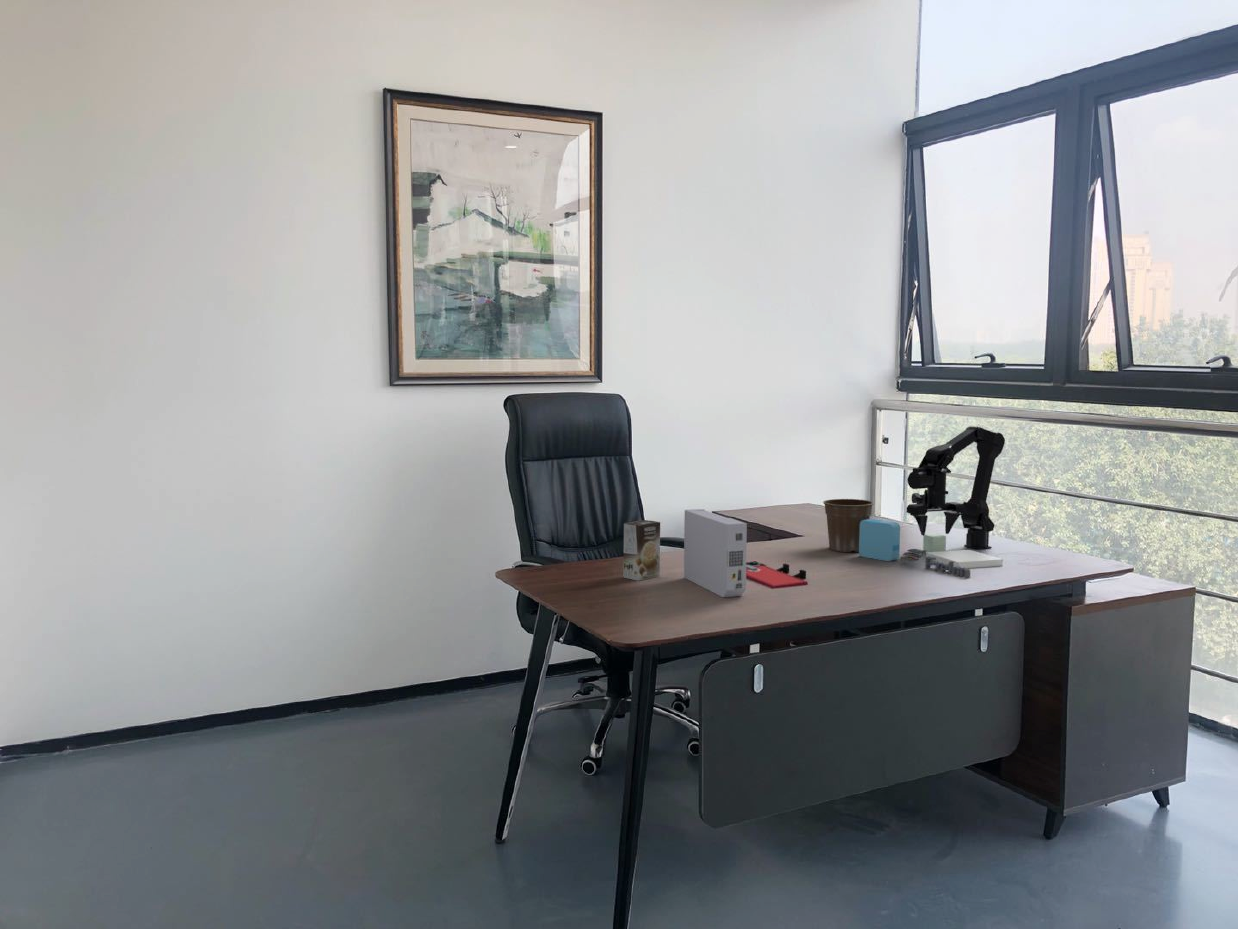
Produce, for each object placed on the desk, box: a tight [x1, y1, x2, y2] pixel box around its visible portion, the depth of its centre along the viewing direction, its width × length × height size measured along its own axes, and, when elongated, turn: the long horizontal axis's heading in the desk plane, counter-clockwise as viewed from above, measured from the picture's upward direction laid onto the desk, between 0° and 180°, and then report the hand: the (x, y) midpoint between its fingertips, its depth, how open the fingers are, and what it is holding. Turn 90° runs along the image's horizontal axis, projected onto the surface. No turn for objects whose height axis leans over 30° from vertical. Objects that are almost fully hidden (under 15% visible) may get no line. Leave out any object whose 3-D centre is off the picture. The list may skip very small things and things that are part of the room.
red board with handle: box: [746, 560, 809, 589], centre depth 270 cm, size 30×3×15 cm
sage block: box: [922, 533, 947, 554], centre depth 303 cm, size 5×5×6 cm
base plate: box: [925, 549, 1004, 569], centre depth 289 cm, size 16×16×2 cm
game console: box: [683, 508, 748, 598], centre depth 254 cm, size 6×27×20 cm, turn 20°
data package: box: [858, 518, 901, 562], centre depth 294 cm, size 12×4×12 cm, turn 43°
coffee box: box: [622, 519, 661, 582], centre depth 267 cm, size 9×6×16 cm
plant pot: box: [822, 498, 874, 553], centre depth 309 cm, size 16×16×16 cm
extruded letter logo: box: [899, 548, 971, 579], centre depth 277 cm, size 25×2×6 cm, turn 31°
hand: (935, 534), depth 302 cm, fingers open, 9 cm apart
